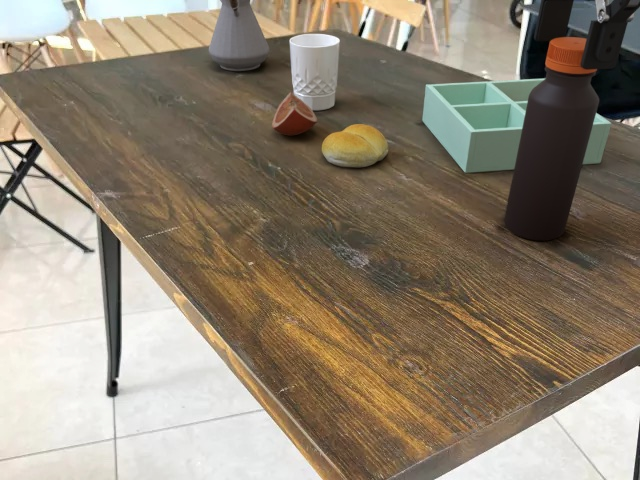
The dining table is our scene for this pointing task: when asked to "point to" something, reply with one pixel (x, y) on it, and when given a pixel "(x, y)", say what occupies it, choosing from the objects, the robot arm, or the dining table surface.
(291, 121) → the fruit slice
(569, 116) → the vinegar
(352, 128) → the bread roll
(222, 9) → the coffee pot
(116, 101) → the dining table surface
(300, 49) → the white cup
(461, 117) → the green compartment tray
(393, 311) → the dining table surface
